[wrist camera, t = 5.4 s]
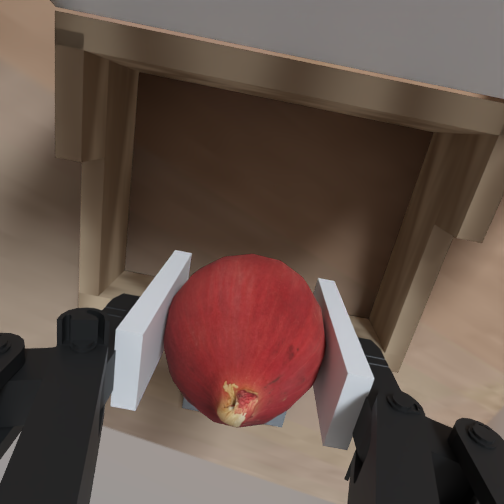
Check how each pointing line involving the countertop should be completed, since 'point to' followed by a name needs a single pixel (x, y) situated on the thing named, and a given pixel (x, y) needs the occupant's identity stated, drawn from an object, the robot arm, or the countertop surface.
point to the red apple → (244, 339)
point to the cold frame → (287, 90)
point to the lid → (344, 33)
